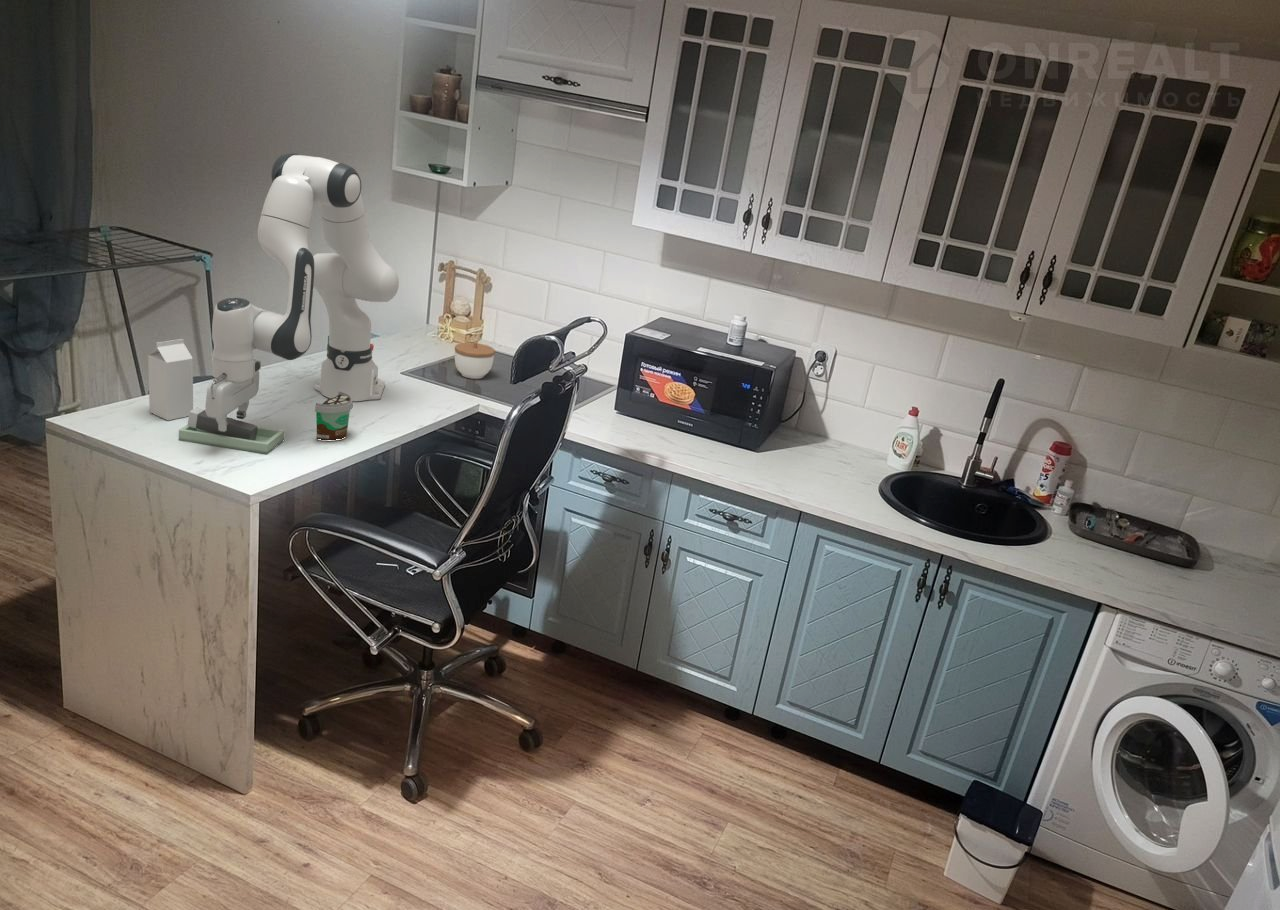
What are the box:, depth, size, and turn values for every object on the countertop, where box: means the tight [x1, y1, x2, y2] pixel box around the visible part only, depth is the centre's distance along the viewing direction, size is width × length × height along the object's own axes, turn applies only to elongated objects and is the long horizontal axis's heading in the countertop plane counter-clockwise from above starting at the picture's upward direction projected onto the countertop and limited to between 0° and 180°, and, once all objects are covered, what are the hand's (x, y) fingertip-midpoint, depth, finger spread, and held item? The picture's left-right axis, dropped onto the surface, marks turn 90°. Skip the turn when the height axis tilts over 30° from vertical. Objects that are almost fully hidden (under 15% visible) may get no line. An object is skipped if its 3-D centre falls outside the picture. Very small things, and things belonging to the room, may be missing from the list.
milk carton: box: [147, 338, 194, 421], centre depth 235 cm, size 7×7×19 cm
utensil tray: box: [178, 424, 286, 455], centre depth 228 cm, size 10×21×2 cm, turn 87°
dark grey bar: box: [187, 406, 259, 441], centre depth 227 cm, size 15×4×4 cm, turn 87°
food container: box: [314, 392, 354, 440], centre depth 239 cm, size 12×6×10 cm, turn 169°
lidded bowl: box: [454, 341, 496, 380], centre depth 305 cm, size 13×13×11 cm
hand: (232, 424), depth 227 cm, fingers open, 8 cm apart
